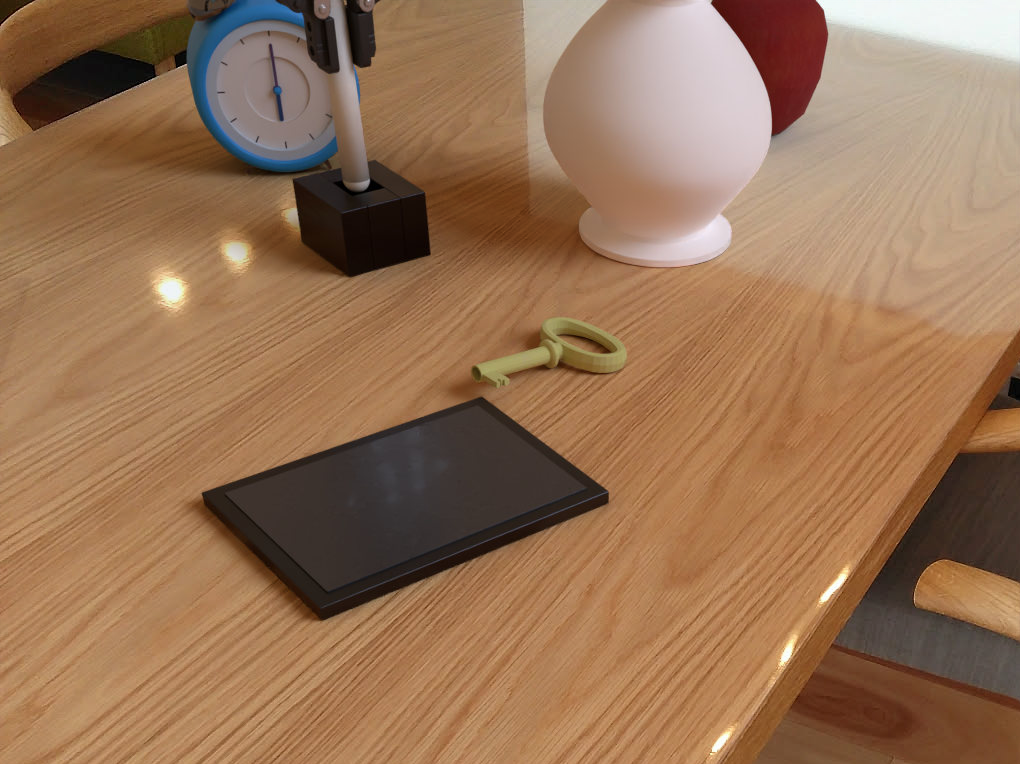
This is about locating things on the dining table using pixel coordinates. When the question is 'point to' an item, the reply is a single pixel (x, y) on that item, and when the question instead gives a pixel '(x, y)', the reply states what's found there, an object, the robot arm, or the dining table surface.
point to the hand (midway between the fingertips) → (343, 66)
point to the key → (556, 353)
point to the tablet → (402, 504)
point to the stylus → (347, 108)
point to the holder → (362, 219)
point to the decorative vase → (657, 128)
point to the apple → (781, 49)
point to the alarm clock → (260, 84)
